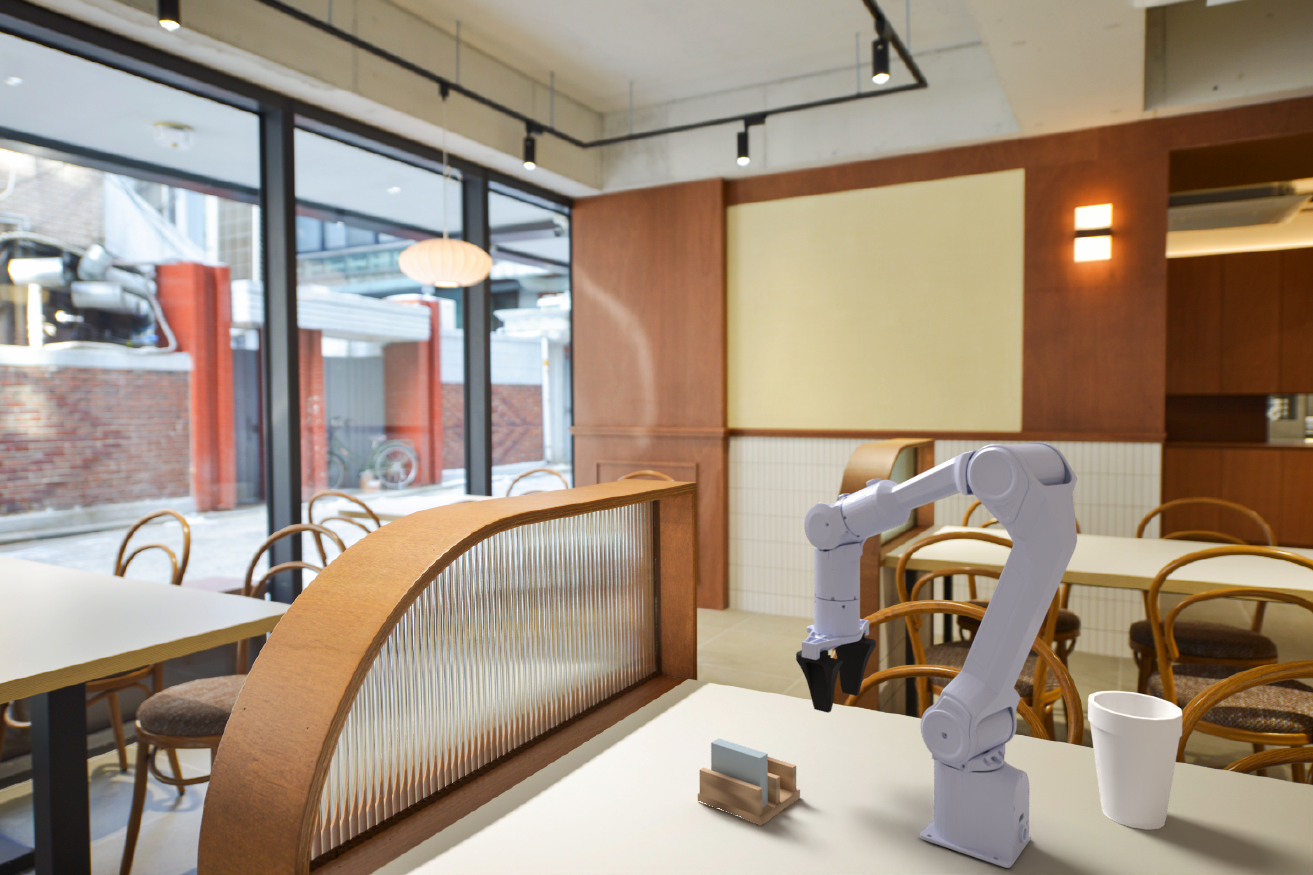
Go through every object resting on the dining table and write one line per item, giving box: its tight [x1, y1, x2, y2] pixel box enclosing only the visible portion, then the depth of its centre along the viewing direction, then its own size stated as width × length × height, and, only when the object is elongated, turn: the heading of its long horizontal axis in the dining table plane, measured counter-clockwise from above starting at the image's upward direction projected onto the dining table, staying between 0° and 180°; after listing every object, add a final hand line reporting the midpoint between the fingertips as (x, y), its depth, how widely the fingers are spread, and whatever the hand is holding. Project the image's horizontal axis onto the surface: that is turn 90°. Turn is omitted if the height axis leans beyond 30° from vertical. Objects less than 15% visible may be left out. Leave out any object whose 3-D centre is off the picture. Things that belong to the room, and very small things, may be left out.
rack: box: [697, 756, 801, 826], centre depth 97 cm, size 9×9×4 cm
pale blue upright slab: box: [710, 738, 769, 808], centre depth 96 cm, size 7×2×6 cm, turn 50°
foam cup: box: [1087, 690, 1183, 831], centre depth 93 cm, size 10×9×13 cm
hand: (836, 701), depth 103 cm, fingers open, 7 cm apart
